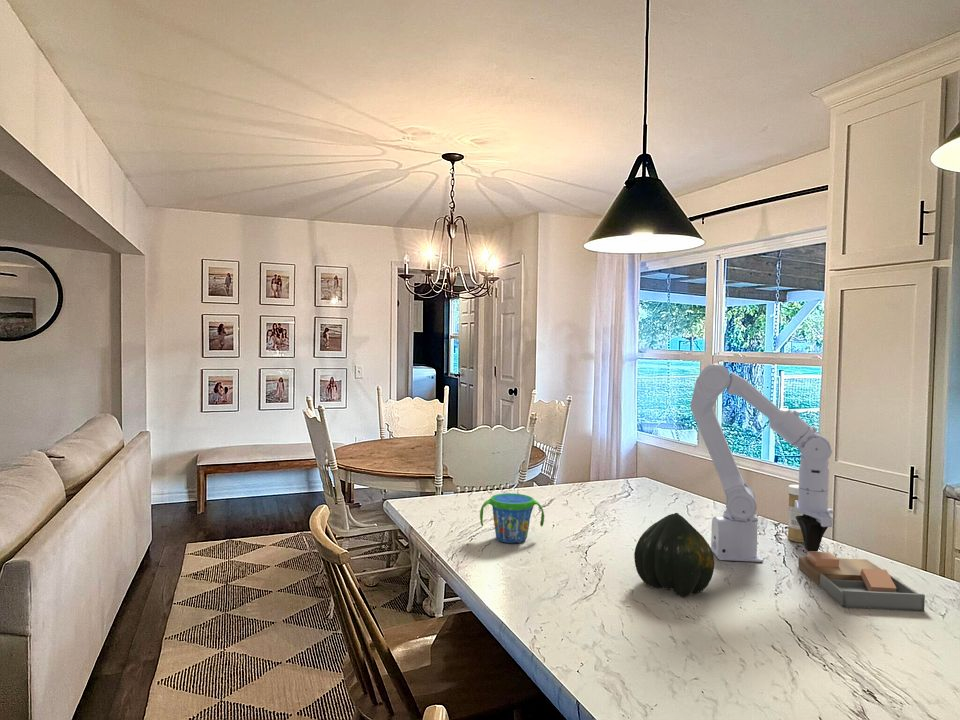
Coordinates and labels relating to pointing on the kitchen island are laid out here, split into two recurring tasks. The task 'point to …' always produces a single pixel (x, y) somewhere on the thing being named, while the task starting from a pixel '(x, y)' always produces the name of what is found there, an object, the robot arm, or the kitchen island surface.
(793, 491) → the sprinkles bottle
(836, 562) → the tile left
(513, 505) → the snack cup
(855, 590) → the tray
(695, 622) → the kitchen island surface
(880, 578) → the tile right
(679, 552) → the squash
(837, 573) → the walnut board
